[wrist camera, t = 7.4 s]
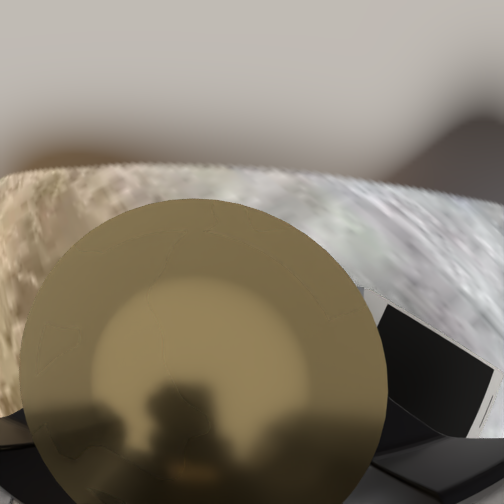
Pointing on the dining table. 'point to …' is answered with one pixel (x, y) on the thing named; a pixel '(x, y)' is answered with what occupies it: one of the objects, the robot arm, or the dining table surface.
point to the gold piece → (202, 363)
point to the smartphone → (433, 372)
